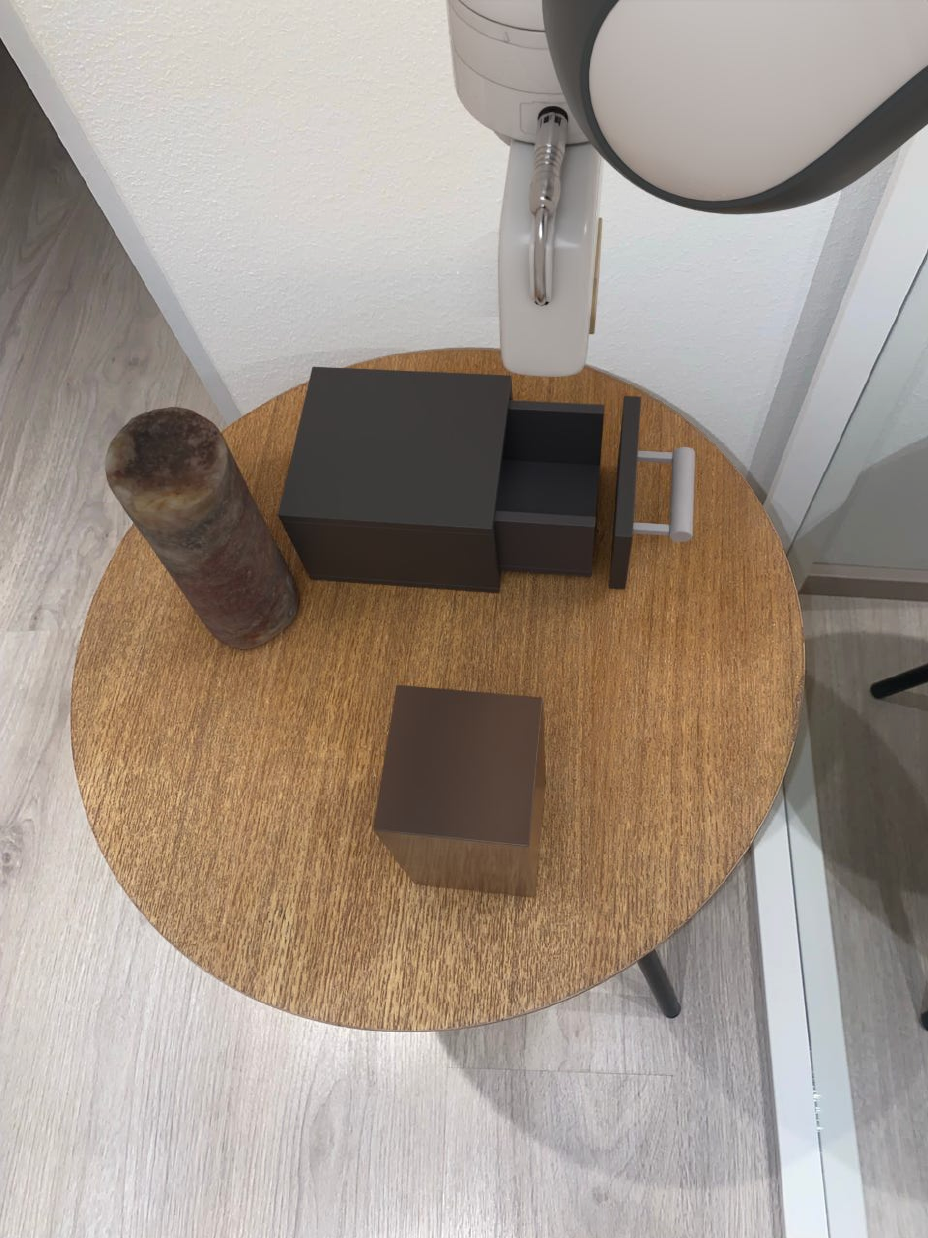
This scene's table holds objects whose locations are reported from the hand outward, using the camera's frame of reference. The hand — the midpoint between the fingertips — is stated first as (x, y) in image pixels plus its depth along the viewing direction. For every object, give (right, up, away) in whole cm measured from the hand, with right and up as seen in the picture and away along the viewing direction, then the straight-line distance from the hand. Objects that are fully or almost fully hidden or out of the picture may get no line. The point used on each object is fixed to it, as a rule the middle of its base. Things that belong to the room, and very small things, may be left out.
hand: (560, 288), depth 50 cm
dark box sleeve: (-9, -9, +26) cm, 29 cm away
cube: (0, -1, +1) cm, 1 cm away
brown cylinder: (-21, -16, +24) cm, 35 cm away
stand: (-4, -31, +15) cm, 35 cm away
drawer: (+3, -10, +23) cm, 25 cm away
